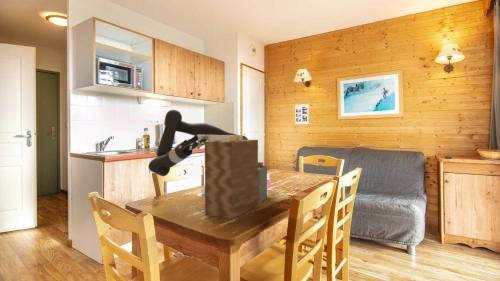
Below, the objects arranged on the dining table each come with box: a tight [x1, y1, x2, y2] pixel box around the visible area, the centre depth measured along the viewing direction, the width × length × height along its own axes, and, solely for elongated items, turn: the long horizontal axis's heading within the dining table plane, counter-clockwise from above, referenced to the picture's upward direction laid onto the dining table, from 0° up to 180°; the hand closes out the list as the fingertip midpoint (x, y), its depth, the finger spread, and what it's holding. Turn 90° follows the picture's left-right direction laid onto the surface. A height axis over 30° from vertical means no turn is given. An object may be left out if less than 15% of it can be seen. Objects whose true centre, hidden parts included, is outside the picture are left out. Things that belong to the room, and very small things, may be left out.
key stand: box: [204, 137, 259, 220], centre depth 124 cm, size 14×24×33 cm, turn 153°
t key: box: [197, 134, 244, 141], centre depth 121 cm, size 22×8×2 cm, turn 60°
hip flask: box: [258, 161, 268, 205], centre depth 140 cm, size 16×4×20 cm, turn 162°
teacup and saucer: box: [197, 187, 205, 198], centre depth 152 cm, size 9×8×4 cm
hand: (203, 136), depth 124 cm, fingers open, 8 cm apart
